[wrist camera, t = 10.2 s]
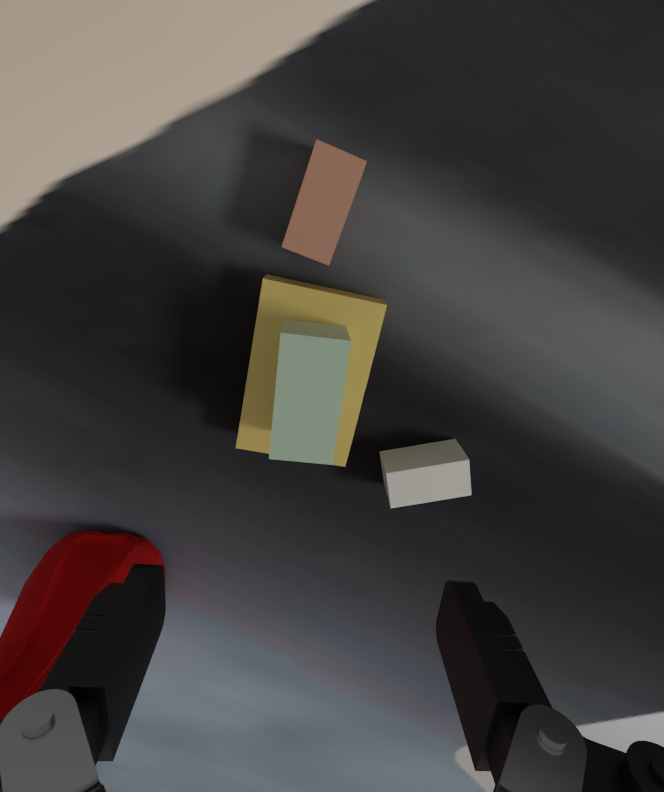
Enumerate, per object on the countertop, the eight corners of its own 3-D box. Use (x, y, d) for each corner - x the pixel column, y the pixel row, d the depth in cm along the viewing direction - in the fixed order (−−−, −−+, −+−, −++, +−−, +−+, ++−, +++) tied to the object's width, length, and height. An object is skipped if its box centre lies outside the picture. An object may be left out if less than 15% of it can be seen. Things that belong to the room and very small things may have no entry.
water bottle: (62, 623, 40) (-282, 1176, 17) (52, 520, 36) (-410, 1048, 13) (169, 630, 41) (-19, 1166, 18) (169, 529, 37) (-68, 1043, 14)
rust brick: (316, 149, 28) (316, 139, 25) (360, 168, 29) (367, 161, 25) (284, 244, 30) (281, 247, 27) (327, 261, 30) (329, 265, 27)
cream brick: (454, 438, 36) (469, 459, 32) (457, 471, 37) (471, 495, 33) (379, 450, 36) (385, 473, 32) (383, 483, 37) (390, 508, 34)
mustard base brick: (380, 298, 32) (386, 305, 29) (342, 447, 36) (345, 466, 33) (267, 273, 31) (262, 278, 28) (242, 430, 35) (235, 447, 32)
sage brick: (346, 326, 29) (351, 340, 26) (330, 437, 32) (332, 464, 28) (284, 319, 29) (280, 332, 25) (273, 431, 32) (268, 458, 28)
